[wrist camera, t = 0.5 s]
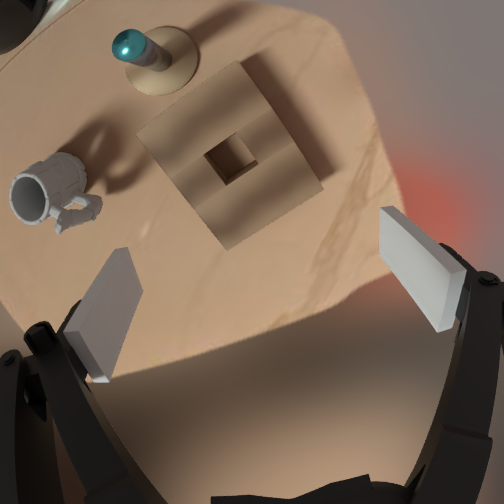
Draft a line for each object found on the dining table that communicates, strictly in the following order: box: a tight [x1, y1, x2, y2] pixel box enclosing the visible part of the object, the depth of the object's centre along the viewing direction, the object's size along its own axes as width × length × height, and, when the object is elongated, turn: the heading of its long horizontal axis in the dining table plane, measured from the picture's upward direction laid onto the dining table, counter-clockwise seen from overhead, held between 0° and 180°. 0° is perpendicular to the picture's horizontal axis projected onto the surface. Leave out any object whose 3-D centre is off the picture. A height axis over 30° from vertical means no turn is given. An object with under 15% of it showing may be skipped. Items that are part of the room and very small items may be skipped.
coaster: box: [125, 27, 198, 96], centre depth 32 cm, size 9×9×1 cm
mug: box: [9, 152, 103, 234], centre depth 33 cm, size 8×12×12 cm, turn 59°
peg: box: [112, 29, 172, 72], centre depth 26 cm, size 3×3×12 cm
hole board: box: [136, 60, 324, 251], centre depth 36 cm, size 18×14×4 cm
